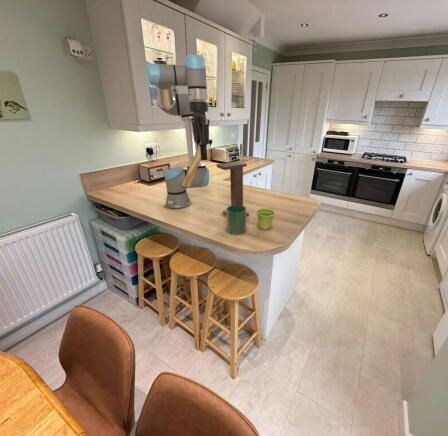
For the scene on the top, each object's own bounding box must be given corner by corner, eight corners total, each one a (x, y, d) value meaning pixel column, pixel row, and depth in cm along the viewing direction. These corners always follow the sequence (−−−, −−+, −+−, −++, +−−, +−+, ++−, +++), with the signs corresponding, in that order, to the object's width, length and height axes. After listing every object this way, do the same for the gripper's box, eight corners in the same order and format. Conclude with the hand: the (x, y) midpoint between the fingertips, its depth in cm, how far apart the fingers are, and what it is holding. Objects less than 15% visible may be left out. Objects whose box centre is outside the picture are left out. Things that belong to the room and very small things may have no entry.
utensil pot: (223, 228, 121) (222, 207, 116) (239, 223, 126) (238, 203, 121) (233, 236, 114) (233, 214, 109) (249, 231, 119) (249, 209, 114)
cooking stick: (201, 138, 102) (205, 141, 103) (182, 184, 105) (186, 186, 106) (203, 139, 100) (208, 141, 102) (184, 186, 103) (188, 187, 104)
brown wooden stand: (217, 214, 136) (215, 163, 123) (238, 209, 144) (237, 160, 131) (227, 221, 128) (225, 167, 115) (248, 215, 136) (249, 164, 123)
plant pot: (272, 222, 127) (273, 208, 123) (275, 231, 119) (276, 215, 115) (255, 223, 127) (255, 208, 123) (256, 231, 118) (257, 216, 115)
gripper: (182, 101, 98) (188, 157, 108) (197, 100, 87) (202, 163, 97) (198, 101, 102) (202, 156, 112) (215, 101, 90) (218, 161, 101)
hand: (202, 159), depth 105 cm, fingers closed on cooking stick, 2 cm apart
